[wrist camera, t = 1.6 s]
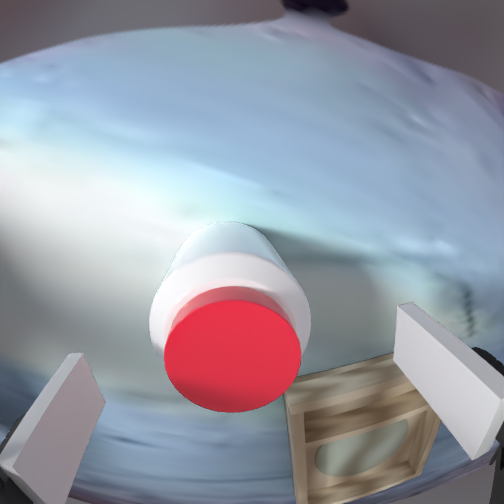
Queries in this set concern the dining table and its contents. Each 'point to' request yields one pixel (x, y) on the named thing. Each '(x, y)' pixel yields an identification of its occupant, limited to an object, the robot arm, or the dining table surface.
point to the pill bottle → (229, 319)
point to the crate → (356, 431)
